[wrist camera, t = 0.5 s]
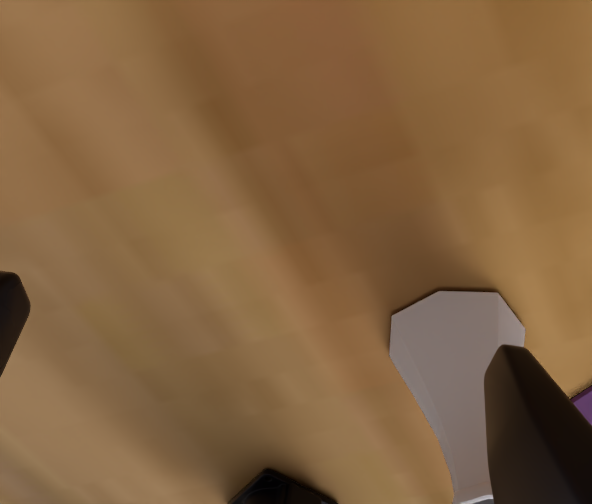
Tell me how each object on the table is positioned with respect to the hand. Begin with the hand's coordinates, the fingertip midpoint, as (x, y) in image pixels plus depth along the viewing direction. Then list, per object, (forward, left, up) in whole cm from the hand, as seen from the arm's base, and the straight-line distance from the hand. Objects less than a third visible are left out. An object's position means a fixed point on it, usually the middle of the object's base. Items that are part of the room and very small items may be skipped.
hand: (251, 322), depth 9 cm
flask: (-6, -13, -14) cm, 20 cm away
